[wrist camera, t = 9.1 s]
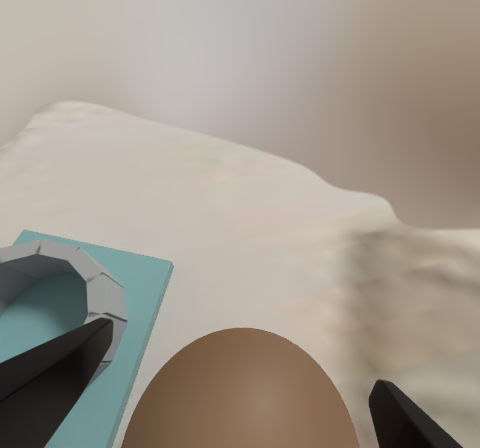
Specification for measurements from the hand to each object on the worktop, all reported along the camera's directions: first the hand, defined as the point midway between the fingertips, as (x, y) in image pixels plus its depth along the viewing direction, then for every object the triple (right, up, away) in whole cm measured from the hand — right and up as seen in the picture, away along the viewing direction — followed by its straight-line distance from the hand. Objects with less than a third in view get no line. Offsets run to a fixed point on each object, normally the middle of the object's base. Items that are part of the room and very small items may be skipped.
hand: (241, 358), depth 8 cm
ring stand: (-10, -2, +6) cm, 12 cm away
